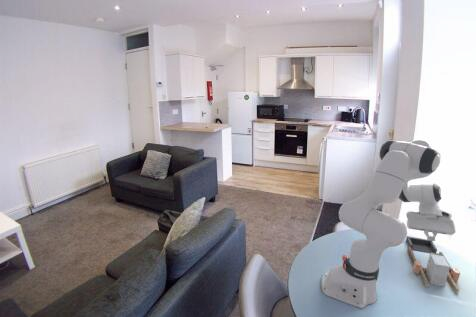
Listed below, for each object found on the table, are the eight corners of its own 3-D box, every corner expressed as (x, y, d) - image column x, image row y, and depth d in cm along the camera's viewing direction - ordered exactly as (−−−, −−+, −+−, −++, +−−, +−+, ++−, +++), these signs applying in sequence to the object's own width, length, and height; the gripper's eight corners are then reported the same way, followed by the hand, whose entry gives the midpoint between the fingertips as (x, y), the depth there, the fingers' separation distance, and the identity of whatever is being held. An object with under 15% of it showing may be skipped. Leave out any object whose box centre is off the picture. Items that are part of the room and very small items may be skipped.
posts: (414, 273, 129) (416, 264, 128) (412, 269, 132) (414, 260, 130) (457, 282, 124) (460, 273, 122) (454, 278, 127) (457, 268, 125)
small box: (444, 287, 121) (450, 267, 118) (429, 284, 123) (435, 264, 120) (439, 275, 128) (444, 256, 125) (425, 272, 130) (429, 253, 127)
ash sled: (425, 286, 121) (429, 269, 118) (417, 266, 134) (420, 250, 131) (458, 293, 117) (463, 276, 115) (446, 272, 130) (450, 255, 127)
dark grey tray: (409, 250, 146) (410, 245, 146) (405, 240, 155) (406, 236, 154) (436, 254, 143) (437, 249, 142) (430, 245, 151) (431, 240, 150)
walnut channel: (414, 268, 133) (415, 262, 132) (407, 251, 146) (408, 246, 145) (450, 275, 128) (452, 270, 127) (440, 257, 141) (441, 252, 140)
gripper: (408, 208, 143) (409, 235, 137) (455, 214, 136) (458, 243, 130) (404, 212, 148) (405, 237, 142) (449, 218, 142) (452, 245, 136)
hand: (431, 240), depth 136 cm, fingers closed
